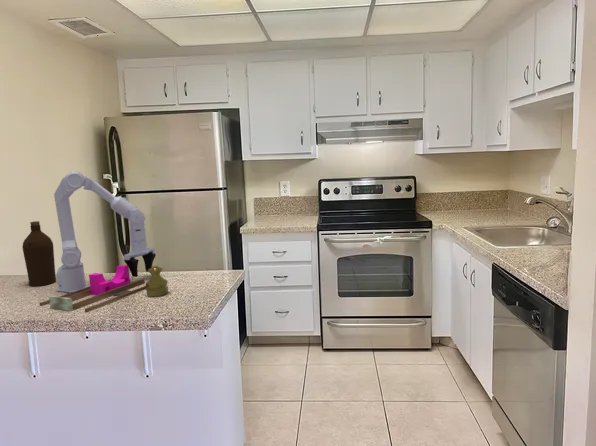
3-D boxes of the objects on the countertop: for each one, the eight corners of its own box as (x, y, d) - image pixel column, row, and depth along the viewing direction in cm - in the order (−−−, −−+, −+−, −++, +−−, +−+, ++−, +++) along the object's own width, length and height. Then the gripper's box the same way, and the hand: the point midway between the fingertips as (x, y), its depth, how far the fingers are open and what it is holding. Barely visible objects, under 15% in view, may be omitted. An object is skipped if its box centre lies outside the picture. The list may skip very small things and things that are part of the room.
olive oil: (58, 283, 180) (50, 221, 176) (27, 288, 175) (18, 224, 171) (57, 278, 189) (49, 219, 185) (28, 282, 184) (19, 221, 180)
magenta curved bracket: (103, 296, 159) (101, 276, 158) (91, 295, 162) (88, 274, 161) (135, 285, 173) (133, 265, 172) (123, 283, 175) (121, 265, 174)
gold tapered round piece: (168, 289, 163) (165, 262, 162) (168, 295, 156) (166, 267, 155) (147, 292, 161) (144, 265, 160) (146, 298, 154) (143, 269, 153)
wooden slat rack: (37, 306, 151) (36, 294, 150) (114, 280, 180) (113, 270, 180) (84, 312, 142) (83, 300, 141) (157, 284, 171) (156, 274, 171)
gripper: (132, 244, 169) (136, 279, 171) (159, 237, 182) (162, 270, 184) (118, 243, 172) (122, 278, 174) (145, 236, 185) (148, 269, 187)
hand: (141, 273), depth 179 cm, fingers open, 7 cm apart
